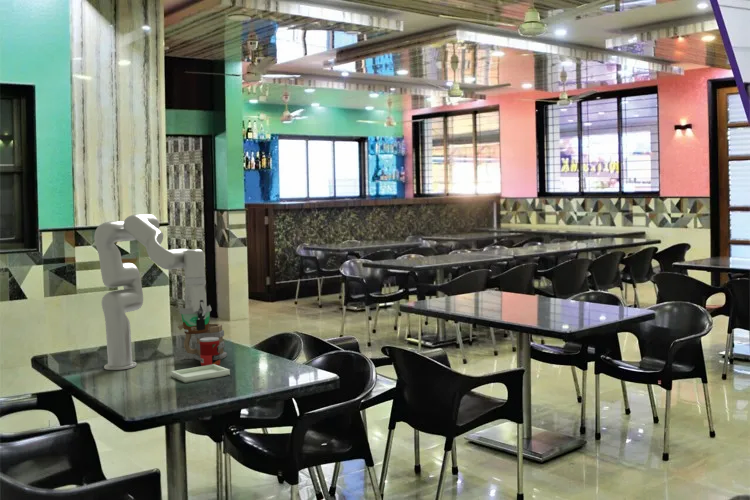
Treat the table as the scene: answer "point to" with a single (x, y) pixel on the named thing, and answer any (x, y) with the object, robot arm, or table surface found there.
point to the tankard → (214, 331)
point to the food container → (194, 320)
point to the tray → (200, 373)
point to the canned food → (209, 351)
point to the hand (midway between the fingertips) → (197, 328)
